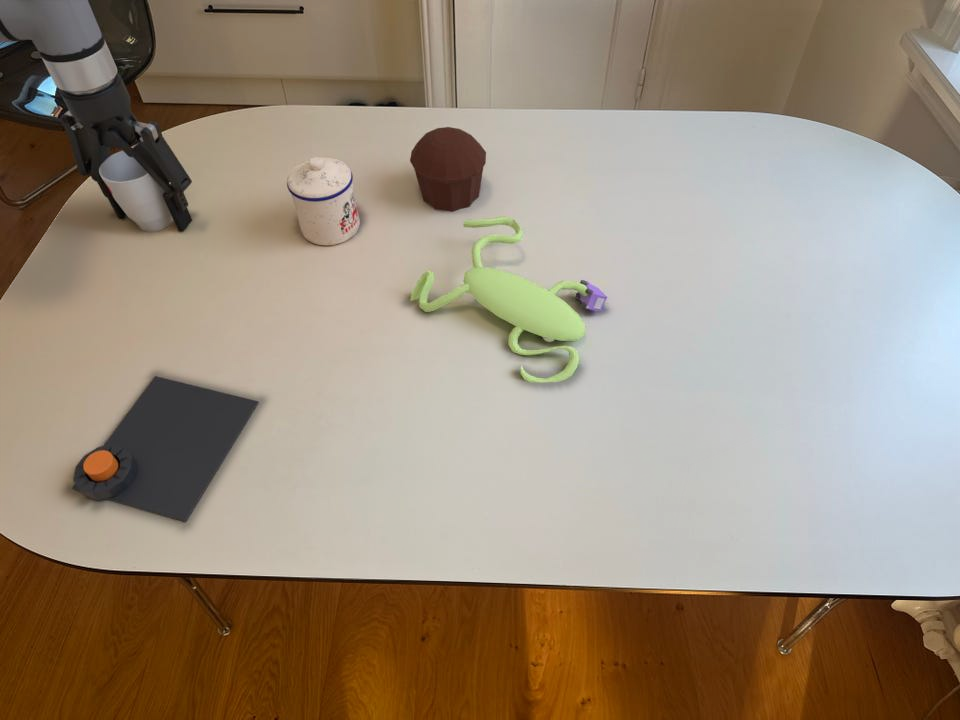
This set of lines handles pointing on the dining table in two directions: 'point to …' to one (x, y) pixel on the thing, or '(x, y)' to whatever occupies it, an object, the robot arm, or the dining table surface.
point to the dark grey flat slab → (169, 448)
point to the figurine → (519, 300)
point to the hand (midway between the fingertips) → (155, 219)
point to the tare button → (100, 465)
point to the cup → (136, 192)
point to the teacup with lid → (324, 200)
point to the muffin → (448, 168)
